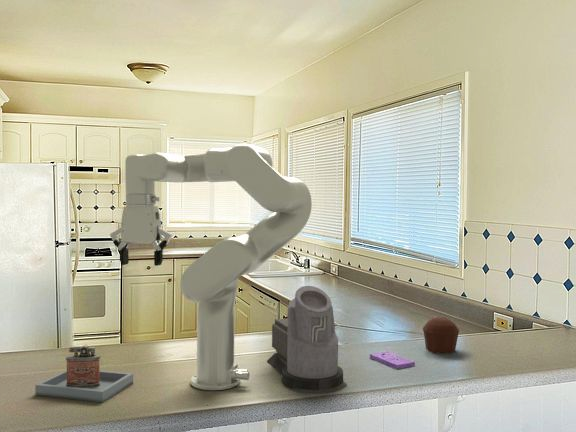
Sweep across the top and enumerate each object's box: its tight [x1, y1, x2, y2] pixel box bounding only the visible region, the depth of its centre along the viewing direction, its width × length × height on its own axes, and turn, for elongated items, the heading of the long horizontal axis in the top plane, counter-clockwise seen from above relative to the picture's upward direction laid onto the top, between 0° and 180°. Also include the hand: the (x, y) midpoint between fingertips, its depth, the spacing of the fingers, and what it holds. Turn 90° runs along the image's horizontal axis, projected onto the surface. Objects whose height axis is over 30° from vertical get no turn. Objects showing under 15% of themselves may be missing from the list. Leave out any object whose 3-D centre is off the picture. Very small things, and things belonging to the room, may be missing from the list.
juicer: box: [266, 285, 347, 395], centre depth 152 cm, size 30×16×24 cm, turn 21°
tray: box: [34, 369, 134, 404], centre depth 139 cm, size 18×14×2 cm
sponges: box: [369, 350, 416, 370], centre depth 166 cm, size 7×13×2 cm, turn 30°
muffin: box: [422, 316, 460, 355], centre depth 179 cm, size 12×11×10 cm
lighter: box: [65, 344, 101, 388], centre depth 140 cm, size 8×3×10 cm, turn 98°
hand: (141, 264), depth 152 cm, fingers open, 9 cm apart
